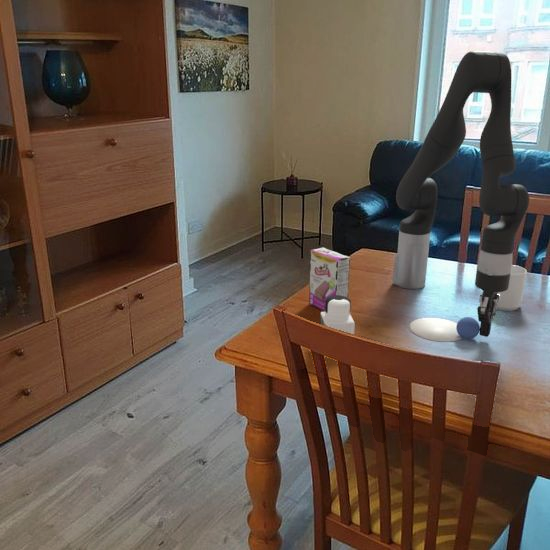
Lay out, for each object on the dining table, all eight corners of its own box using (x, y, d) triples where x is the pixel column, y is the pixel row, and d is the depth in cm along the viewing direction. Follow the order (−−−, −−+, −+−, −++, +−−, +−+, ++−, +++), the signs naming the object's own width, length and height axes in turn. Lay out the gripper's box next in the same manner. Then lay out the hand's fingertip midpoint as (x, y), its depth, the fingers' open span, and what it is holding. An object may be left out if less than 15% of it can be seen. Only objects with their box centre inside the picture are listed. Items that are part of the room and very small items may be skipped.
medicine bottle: (319, 337, 139) (320, 292, 135) (347, 336, 140) (349, 292, 136) (323, 350, 133) (325, 304, 129) (353, 350, 133) (356, 303, 129)
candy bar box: (307, 304, 159) (309, 249, 154) (320, 300, 162) (323, 246, 157) (334, 317, 151) (337, 259, 146) (348, 313, 154) (351, 256, 148)
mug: (523, 313, 155) (530, 275, 151) (490, 310, 156) (495, 273, 153) (514, 297, 166) (520, 261, 162) (483, 295, 168) (488, 259, 164)
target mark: (401, 332, 142) (401, 331, 142) (420, 314, 153) (420, 313, 153) (456, 346, 135) (456, 345, 135) (472, 326, 146) (472, 325, 146)
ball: (481, 342, 136) (458, 344, 139) (483, 330, 140) (461, 332, 143) (474, 322, 134) (451, 326, 137) (477, 311, 139) (455, 314, 142)
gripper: (484, 258, 139) (475, 322, 145) (470, 273, 129) (461, 341, 135) (516, 264, 136) (506, 329, 141) (504, 279, 125) (493, 349, 131)
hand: (484, 335), depth 138 cm, fingers closed
